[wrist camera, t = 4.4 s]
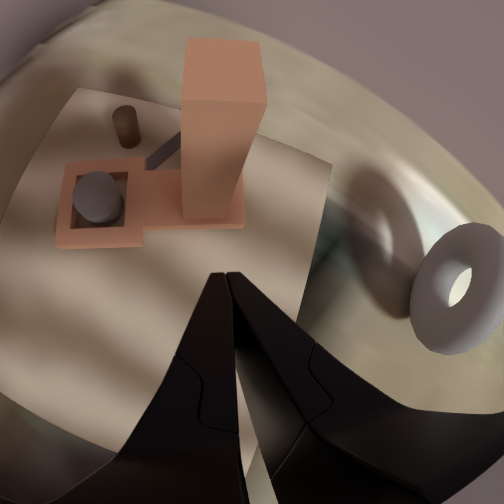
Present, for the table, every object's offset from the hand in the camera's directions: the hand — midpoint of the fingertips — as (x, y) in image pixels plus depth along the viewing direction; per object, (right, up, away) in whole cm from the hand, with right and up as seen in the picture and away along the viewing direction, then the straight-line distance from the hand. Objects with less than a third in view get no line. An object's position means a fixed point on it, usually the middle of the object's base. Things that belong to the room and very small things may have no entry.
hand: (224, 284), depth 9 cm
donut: (+15, -3, +14) cm, 20 cm away
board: (-7, 0, +10) cm, 12 cm away
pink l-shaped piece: (-6, +4, +9) cm, 12 cm away
